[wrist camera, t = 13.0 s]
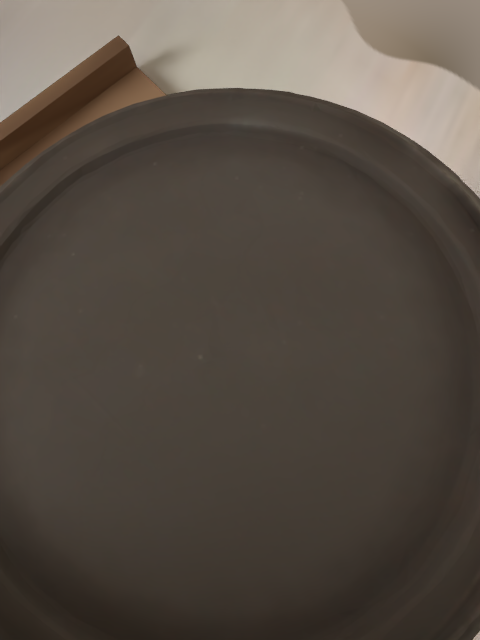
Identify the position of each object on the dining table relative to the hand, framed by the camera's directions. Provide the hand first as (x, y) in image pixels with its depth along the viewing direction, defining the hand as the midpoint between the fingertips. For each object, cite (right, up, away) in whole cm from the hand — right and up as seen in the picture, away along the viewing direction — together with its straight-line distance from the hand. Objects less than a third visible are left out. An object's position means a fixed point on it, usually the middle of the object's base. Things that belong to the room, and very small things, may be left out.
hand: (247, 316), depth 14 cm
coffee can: (0, -4, +7) cm, 8 cm away
